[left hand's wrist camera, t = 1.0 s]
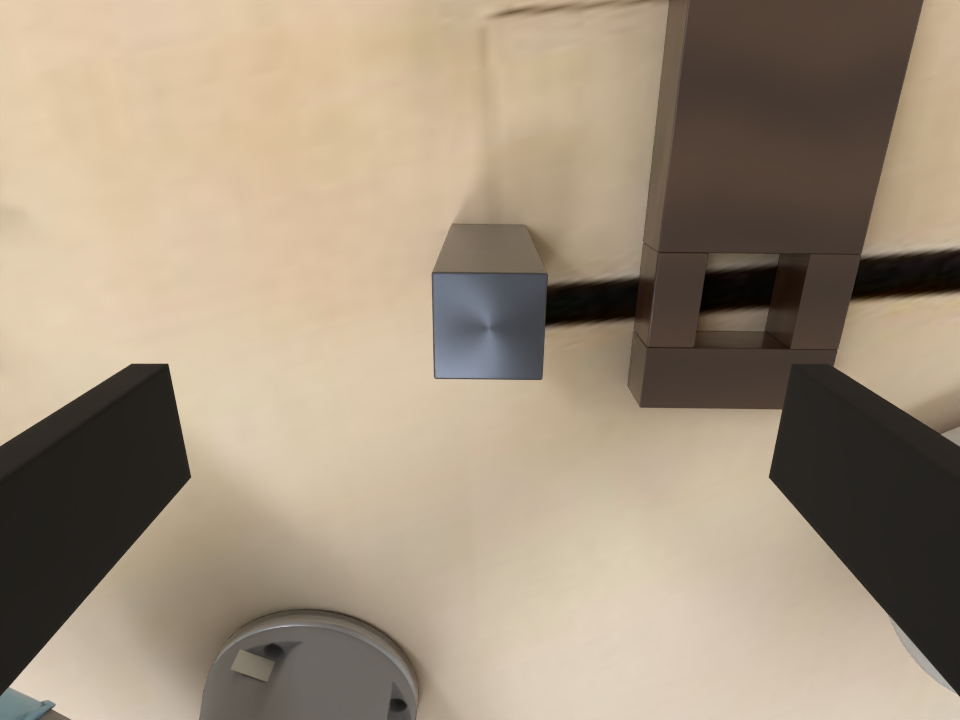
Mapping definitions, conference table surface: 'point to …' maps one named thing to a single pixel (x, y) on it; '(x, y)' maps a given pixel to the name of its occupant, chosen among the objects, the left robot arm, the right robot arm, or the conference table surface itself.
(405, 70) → the conference table surface
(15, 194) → the conference table surface
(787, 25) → the peg board
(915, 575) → the left robot arm
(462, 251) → the peg
